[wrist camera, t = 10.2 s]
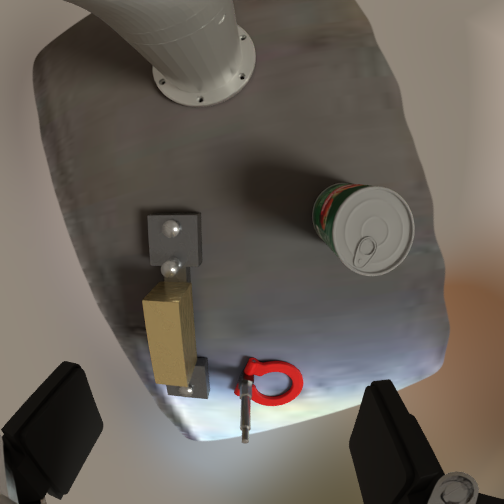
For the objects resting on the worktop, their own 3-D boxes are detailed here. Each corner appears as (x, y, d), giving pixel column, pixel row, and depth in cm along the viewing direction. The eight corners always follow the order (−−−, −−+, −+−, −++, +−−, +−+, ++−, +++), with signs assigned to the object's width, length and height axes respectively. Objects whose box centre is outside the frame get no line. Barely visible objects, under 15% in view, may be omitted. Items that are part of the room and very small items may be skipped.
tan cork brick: (159, 281, 36) (142, 300, 30) (191, 282, 35) (178, 302, 30) (168, 357, 38) (155, 383, 32) (197, 359, 38) (187, 387, 32)
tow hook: (311, 366, 41) (251, 350, 40) (330, 431, 28) (251, 417, 27) (288, 405, 43) (231, 392, 42) (297, 469, 30) (226, 458, 29)
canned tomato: (329, 171, 34) (357, 168, 23) (383, 201, 34) (428, 212, 24) (300, 231, 36) (316, 254, 25) (356, 258, 36) (389, 289, 25)
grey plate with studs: (153, 213, 36) (140, 218, 31) (201, 212, 35) (192, 217, 31) (171, 386, 42) (164, 404, 38) (209, 389, 42) (205, 408, 37)
